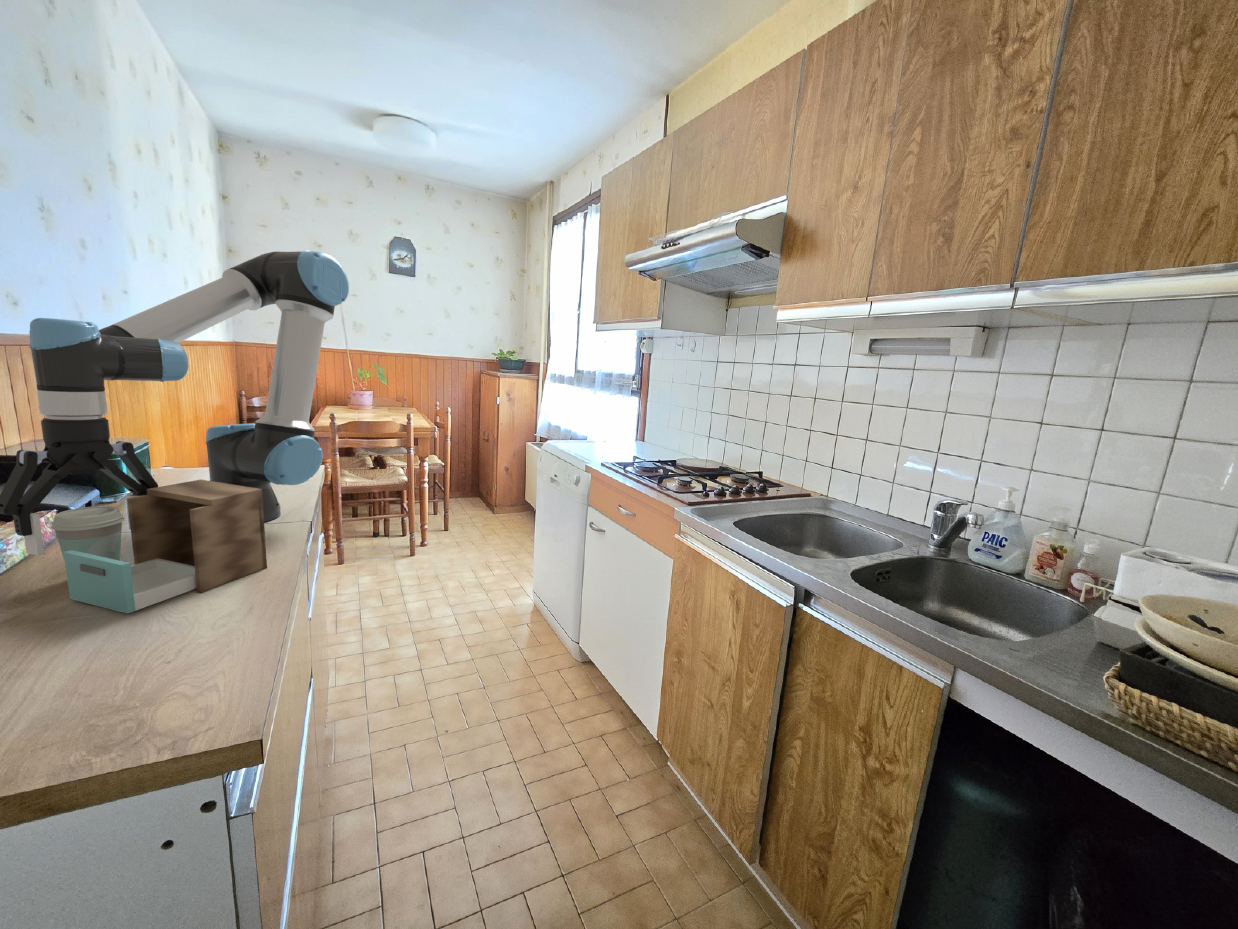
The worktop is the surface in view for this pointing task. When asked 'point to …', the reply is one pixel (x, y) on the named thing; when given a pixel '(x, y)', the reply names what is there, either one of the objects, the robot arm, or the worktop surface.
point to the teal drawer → (125, 581)
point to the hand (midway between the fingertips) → (90, 541)
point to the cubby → (201, 529)
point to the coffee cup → (90, 531)
